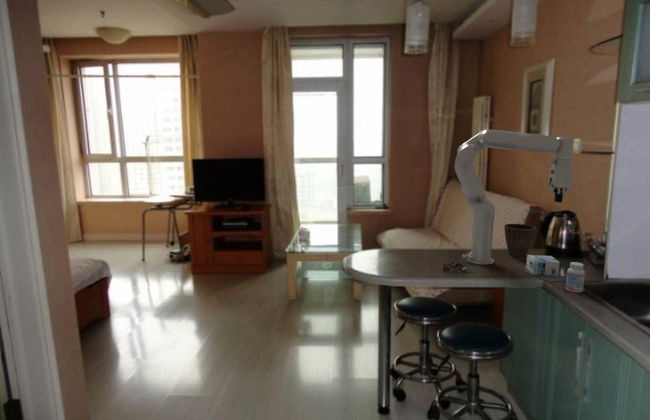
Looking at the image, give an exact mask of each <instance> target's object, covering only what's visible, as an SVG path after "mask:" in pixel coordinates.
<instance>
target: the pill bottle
mask: <svg viewBox="0 0 650 420" xmlns="http://www.w3.org/2000/svg"><path fill="white" fill-rule="evenodd" d="M584 267H585V264H583V263H581V262H577V261H575V262H574V261H571V262H570V264H569V268H568V269H567V271H566V278H567V279H566V280H565V289H566V290H567V291H569V292H571V293H582V292H583V291H584V286H585V285H584V284H585V275H586V271H585V270H584Z"/></svg>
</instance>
